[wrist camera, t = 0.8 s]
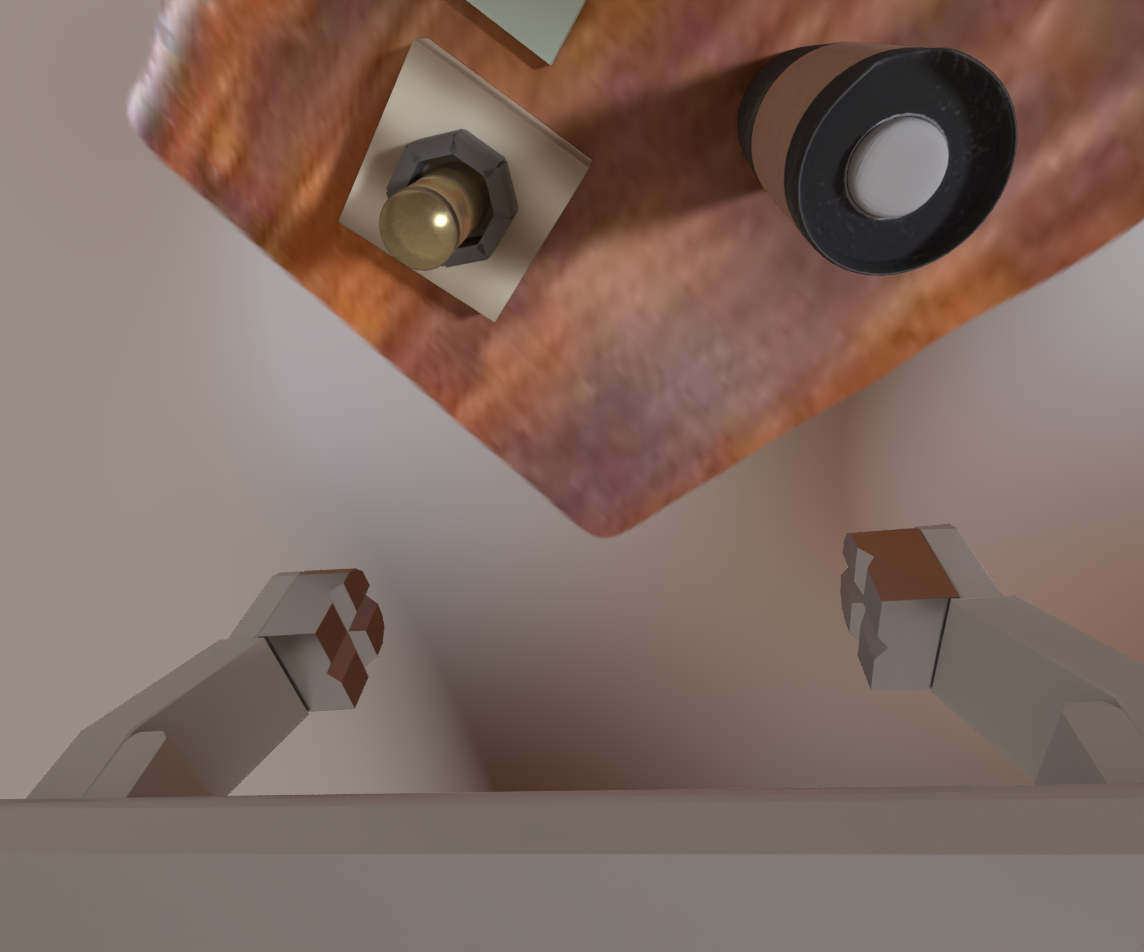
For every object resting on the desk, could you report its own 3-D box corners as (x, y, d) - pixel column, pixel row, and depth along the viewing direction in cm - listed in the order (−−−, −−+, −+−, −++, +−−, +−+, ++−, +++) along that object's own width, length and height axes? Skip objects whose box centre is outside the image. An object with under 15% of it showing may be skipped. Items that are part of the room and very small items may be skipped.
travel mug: (796, 208, 42) (892, 317, 26) (706, 134, 41) (748, 201, 24) (890, 97, 39) (1073, 142, 22) (795, 9, 37) (918, -12, 20)
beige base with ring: (428, 38, 39) (400, 38, 35) (592, 160, 42) (586, 175, 37) (354, 211, 45) (322, 231, 41) (502, 307, 48) (487, 335, 44)
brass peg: (444, 146, 40) (398, 171, 32) (502, 186, 41) (470, 220, 33) (416, 205, 42) (367, 241, 34) (471, 242, 43) (435, 285, 35)
